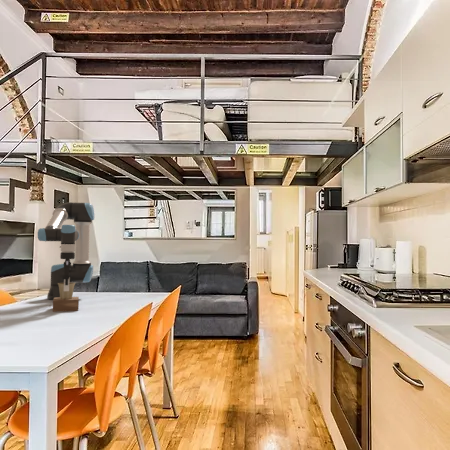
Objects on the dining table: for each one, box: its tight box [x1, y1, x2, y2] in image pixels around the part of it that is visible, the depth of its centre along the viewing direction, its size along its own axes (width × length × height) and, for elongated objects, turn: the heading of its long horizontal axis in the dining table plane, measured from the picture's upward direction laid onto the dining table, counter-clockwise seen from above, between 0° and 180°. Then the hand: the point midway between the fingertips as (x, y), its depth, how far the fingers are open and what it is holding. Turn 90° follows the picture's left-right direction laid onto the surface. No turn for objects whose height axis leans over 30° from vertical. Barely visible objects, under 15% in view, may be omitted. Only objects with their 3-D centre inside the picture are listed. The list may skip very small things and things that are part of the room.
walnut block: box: [52, 296, 80, 313], centre depth 224 cm, size 13×13×6 cm
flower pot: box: [58, 282, 77, 299], centre depth 224 cm, size 9×9×9 cm
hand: (66, 289), depth 224 cm, fingers open, 13 cm apart
